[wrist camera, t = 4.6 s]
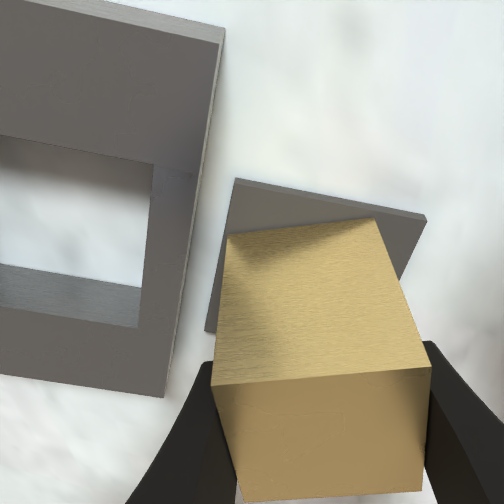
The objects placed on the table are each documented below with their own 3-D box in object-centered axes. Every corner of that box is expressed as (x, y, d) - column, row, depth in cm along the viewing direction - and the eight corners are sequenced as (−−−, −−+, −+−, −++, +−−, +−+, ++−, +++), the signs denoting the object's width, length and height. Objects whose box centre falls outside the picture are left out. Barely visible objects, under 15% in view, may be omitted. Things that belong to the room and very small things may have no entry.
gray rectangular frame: (225, 28, 12) (219, 43, 11) (172, 356, 19) (163, 398, 17) (-107, -48, 11) (-170, -43, 10) (-41, 323, 18) (-72, 362, 16)
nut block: (373, 217, 15) (431, 366, 10) (374, 327, 17) (421, 491, 12) (227, 234, 15) (210, 385, 10) (249, 339, 18) (244, 502, 13)
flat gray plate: (423, 214, 15) (427, 220, 15) (360, 349, 18) (363, 357, 18) (235, 177, 15) (234, 183, 14) (205, 323, 18) (204, 330, 17)
